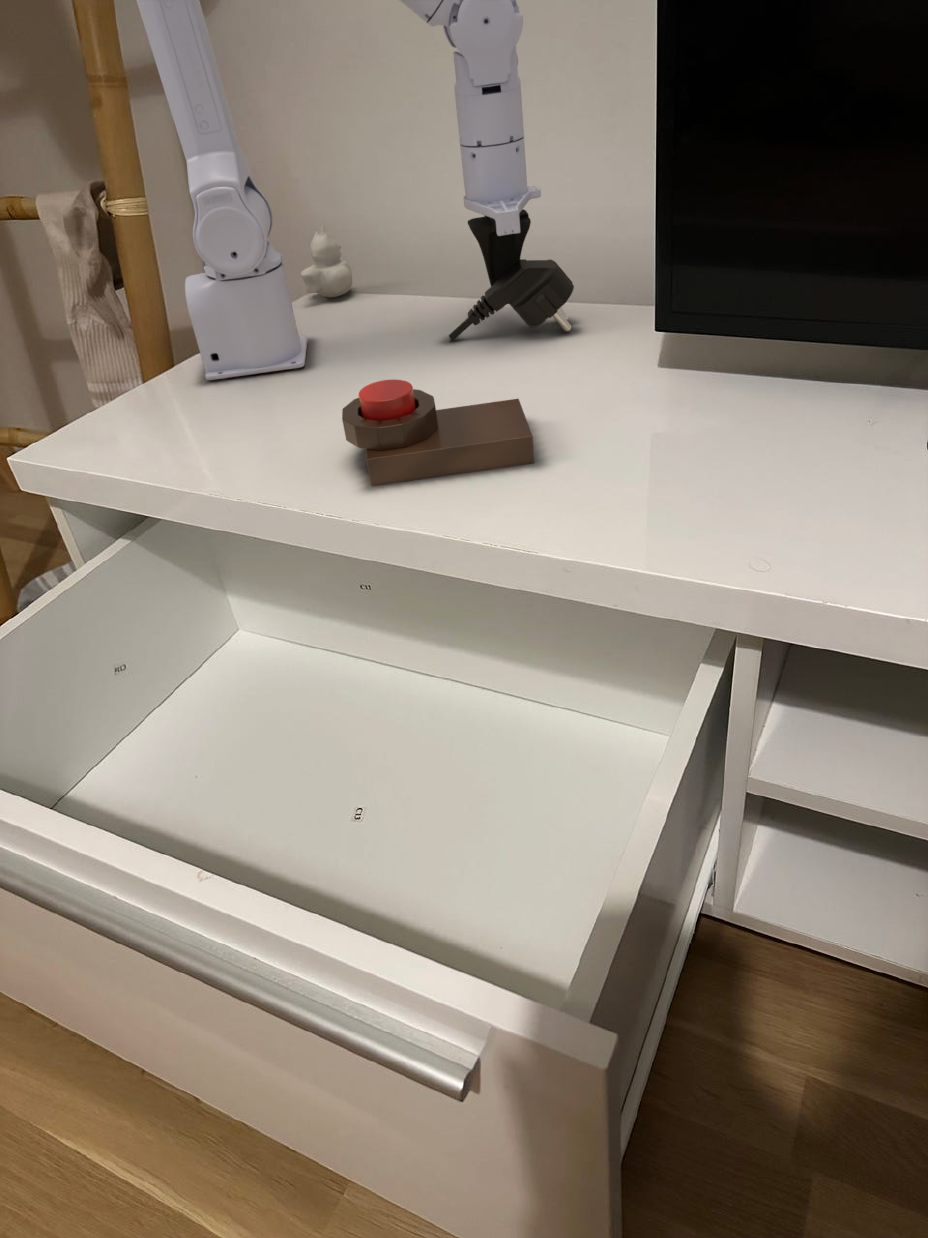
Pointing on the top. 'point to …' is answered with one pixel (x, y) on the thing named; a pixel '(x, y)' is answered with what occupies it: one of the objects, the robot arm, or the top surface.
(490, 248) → the robot arm
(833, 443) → the top surface
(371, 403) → the light button
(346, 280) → the rubber duck
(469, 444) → the switch box
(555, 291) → the power plug
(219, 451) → the top surface
